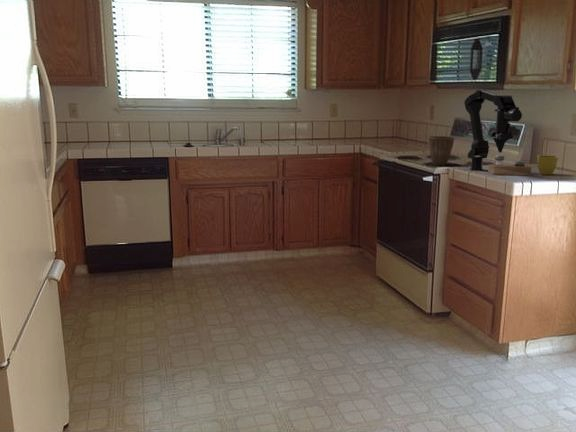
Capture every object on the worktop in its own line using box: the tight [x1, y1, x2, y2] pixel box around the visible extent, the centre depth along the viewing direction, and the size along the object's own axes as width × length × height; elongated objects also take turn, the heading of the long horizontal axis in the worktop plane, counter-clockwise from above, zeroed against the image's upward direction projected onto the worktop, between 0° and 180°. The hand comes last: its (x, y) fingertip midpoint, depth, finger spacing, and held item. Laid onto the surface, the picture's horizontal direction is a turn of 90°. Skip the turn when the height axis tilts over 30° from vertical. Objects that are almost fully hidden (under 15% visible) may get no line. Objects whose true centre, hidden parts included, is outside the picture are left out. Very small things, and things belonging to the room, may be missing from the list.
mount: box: [487, 164, 532, 176], centre depth 276 cm, size 10×18×4 cm, turn 84°
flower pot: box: [537, 154, 558, 176], centre depth 274 cm, size 9×9×9 cm
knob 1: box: [494, 154, 506, 166], centre depth 276 cm, size 4×4×6 cm
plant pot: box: [427, 135, 455, 166], centre depth 319 cm, size 15×15×16 cm
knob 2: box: [514, 160, 526, 166], centre depth 275 cm, size 4×4×6 cm
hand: (500, 152), depth 275 cm, fingers closed
